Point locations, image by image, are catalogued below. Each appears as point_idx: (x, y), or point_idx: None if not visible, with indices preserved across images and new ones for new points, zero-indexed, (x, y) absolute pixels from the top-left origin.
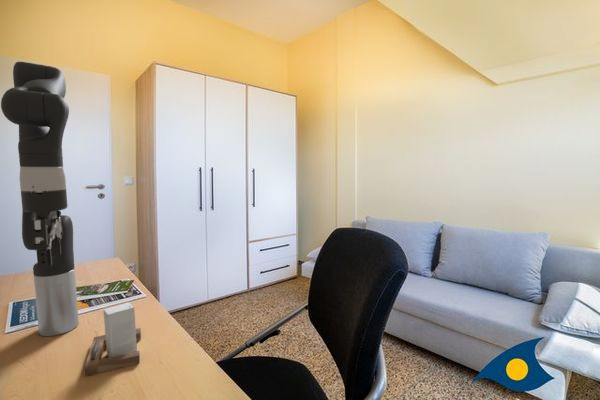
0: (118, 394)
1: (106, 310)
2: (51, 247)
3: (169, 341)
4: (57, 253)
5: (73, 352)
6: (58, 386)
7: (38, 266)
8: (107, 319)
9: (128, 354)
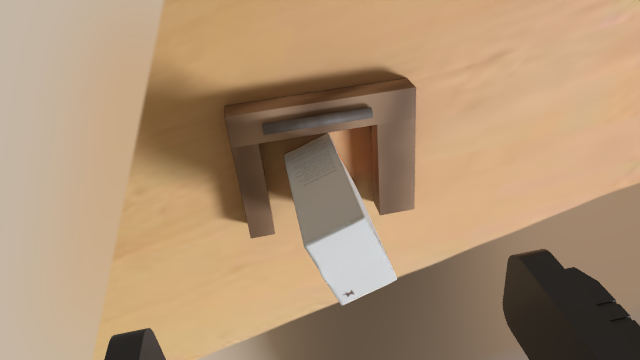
0: (122, 208)
1: (348, 231)
2: (567, 345)
3: None
4: (517, 320)
5: (380, 24)
6: (191, 47)
7: (109, 345)
8: (305, 231)
9: (263, 212)
